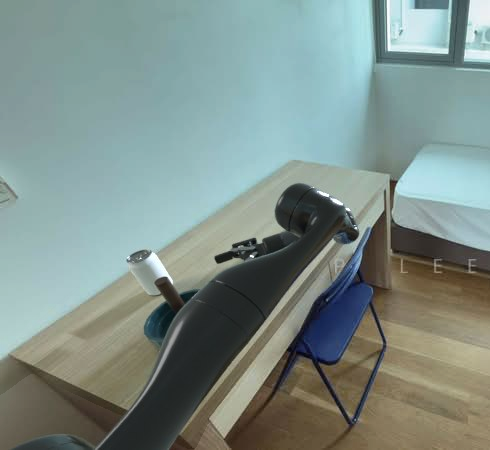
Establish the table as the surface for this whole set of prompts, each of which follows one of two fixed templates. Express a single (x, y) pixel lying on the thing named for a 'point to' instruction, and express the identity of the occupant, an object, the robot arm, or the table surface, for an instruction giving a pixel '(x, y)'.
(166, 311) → the bowl
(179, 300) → the brown post with base
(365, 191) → the table surface
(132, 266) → the can
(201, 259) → the table surface
